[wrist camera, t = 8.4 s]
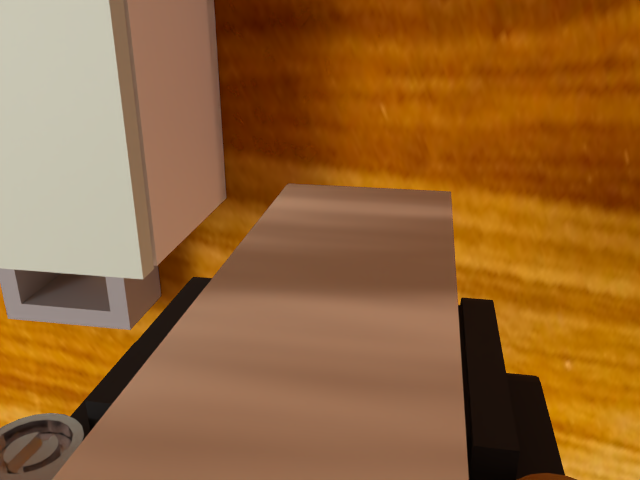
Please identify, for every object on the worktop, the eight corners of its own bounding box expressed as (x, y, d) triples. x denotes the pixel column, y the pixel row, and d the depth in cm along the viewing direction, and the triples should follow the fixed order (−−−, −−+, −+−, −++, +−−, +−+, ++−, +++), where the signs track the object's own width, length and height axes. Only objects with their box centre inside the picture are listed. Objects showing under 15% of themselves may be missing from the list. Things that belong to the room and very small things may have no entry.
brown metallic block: (288, 183, 15) (-93, 661, 4) (451, 191, 15) (487, 780, 4) (290, 323, 17) (13, 942, 6) (439, 337, 16) (440, 1064, 5)
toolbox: (-133, -234, 28) (-368, -327, 20) (197, -258, 26) (85, -376, 17) (-15, 281, 38) (-139, 361, 30) (232, 301, 35) (171, 394, 27)
